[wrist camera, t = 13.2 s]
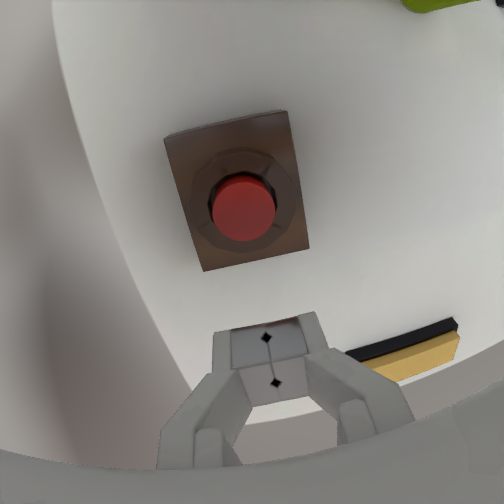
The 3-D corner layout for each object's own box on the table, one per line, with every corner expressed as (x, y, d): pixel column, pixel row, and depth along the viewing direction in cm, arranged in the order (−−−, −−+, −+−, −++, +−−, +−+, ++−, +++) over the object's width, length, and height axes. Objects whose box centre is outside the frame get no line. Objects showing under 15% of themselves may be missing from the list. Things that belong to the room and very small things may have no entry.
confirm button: (207, 182, 19) (205, 190, 17) (265, 169, 19) (269, 176, 17) (221, 235, 20) (220, 247, 19) (275, 223, 20) (280, 234, 19)
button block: (168, 135, 21) (157, 143, 17) (281, 109, 20) (293, 111, 17) (204, 258, 25) (201, 285, 22) (303, 236, 25) (315, 261, 21)
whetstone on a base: (344, 351, 32) (353, 372, 29) (452, 316, 31) (464, 332, 29) (345, 379, 34) (352, 398, 31) (444, 345, 34) (455, 361, 31)
